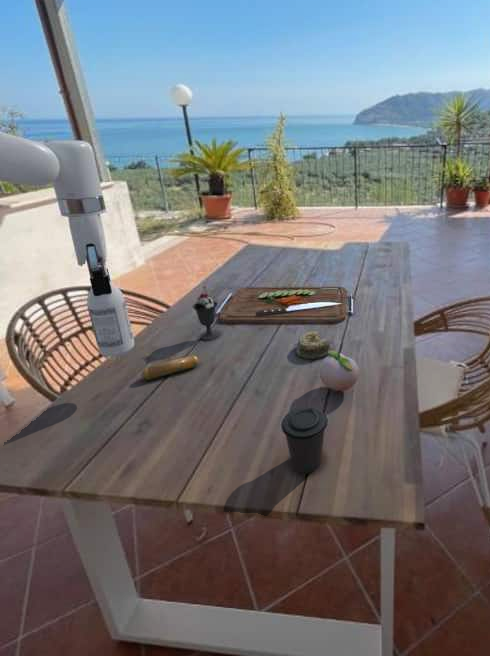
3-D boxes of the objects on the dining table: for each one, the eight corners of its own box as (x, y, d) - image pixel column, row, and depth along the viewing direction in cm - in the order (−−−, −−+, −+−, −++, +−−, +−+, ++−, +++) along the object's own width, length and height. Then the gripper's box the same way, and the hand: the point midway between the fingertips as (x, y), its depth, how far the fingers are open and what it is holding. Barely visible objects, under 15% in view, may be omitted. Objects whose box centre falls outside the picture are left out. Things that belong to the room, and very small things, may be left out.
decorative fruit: (311, 390, 91) (310, 353, 87) (336, 374, 96) (335, 339, 93) (340, 408, 85) (340, 369, 81) (365, 390, 91) (365, 353, 87)
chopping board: (353, 289, 147) (353, 282, 146) (353, 322, 122) (353, 314, 121) (234, 290, 147) (233, 282, 145) (209, 323, 121) (208, 314, 120)
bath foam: (118, 339, 92) (100, 259, 86) (142, 344, 90) (124, 263, 84) (92, 354, 86) (69, 270, 79) (116, 360, 84) (95, 273, 77)
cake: (312, 365, 101) (310, 348, 99) (289, 351, 107) (286, 335, 105) (340, 348, 107) (338, 332, 105) (316, 336, 114) (314, 320, 112)
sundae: (216, 328, 118) (210, 282, 113) (224, 336, 114) (218, 289, 108) (194, 335, 114) (186, 288, 109) (202, 344, 110) (194, 295, 104)
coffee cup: (327, 442, 76) (325, 400, 72) (330, 476, 68) (329, 431, 65) (284, 447, 74) (281, 404, 71) (283, 482, 67) (279, 436, 63)
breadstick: (143, 384, 92) (140, 373, 91) (142, 377, 95) (139, 367, 94) (200, 367, 99) (199, 357, 98) (198, 361, 101) (196, 351, 100)
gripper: (62, 201, 82) (83, 281, 88) (55, 215, 68) (80, 309, 75) (104, 198, 86) (121, 275, 92) (105, 211, 72) (125, 300, 79)
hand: (103, 290), depth 83 cm, fingers closed on bath foam, 3 cm apart
